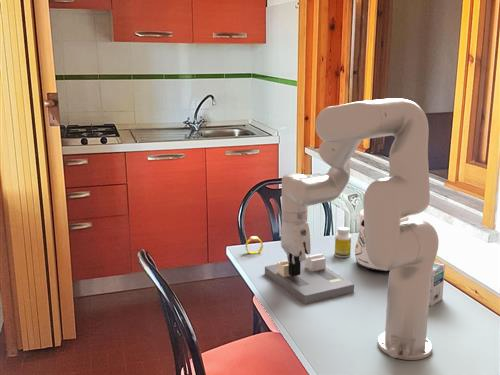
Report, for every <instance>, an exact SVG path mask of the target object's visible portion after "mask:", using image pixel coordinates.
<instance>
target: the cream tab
mask: <svg viewBox="0 0 500 375" xmlns="http://www.w3.org/2000/svg"><path fill="white" fill-rule="evenodd" d="M276 264H277V273H278V274H280V275H281V276H283V277H287V276H291V275H289V262H288V259H284V260H279V261H277V262H276Z"/></svg>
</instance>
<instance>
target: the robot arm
mask: <svg viewBox="0 0 500 375" xmlns="http://www.w3.org/2000/svg"><path fill="white" fill-rule="evenodd" d="M429 130H430V129H429V121H428V117H427V115H426V113H425V111H424V110H423V108H422V107H421V106H419V105H418V103H416V102H414V101H412V100H409V99H405V98H382V99H373V100H372V99H371V100H361V101H360V100H359V101H354V102H350V103H345V104H344V103H343V104H339V105H338V104H337V105H332V106H331V105H330V106H327V107H325V108H323V109H322V110H321V111H320V112H319V113H318V115H317V117H316V120H315V132H316V134H317V137H319V138H320V140H321V141H322V142H321V144H320V145H319V147H318V154H319V157H320V159H321V160H322V161H323V163H325V164H326V165H328V166H330V169H328V171H327V173H325V175H319V176H313V177H308V176H307V175H305V174H302V173H297V172H296V173H293V172H292V173H286V174H284V175H283V176H282V177H281V228H280V246H281V248H282V250H283V251H284V252H285V254H286V256H287V260H288V262H289V275H291V276H296V275H300V263H301V262H302V261H305V260H306V257H307V256H306V255H311V233H310V225H309V222H308V213H309V212H308V208H309V207H310V206H314V205H315V206H316V205H318V204H323V203H329V202H332V201H334V200H336V199H337V198H338V197H339V196H340V195H341V194H342V192H343V191H344V189H345V188H346V187H347V185H348V183H349V181H350V177H351V166H350V162H349V161H350V160H351V159H352V158H353V156H354V154H355V152H356V151H357V149H358V147H359V146H360V144H361V142H362V141H363V140H368V139H377V138H384V137H390V136H392V137H395V138H394V140H393V142H392V144H391V146H390V150H389V155H388V164H389V170H388V174H389V175H388V176H387V177H382V178H378V179H376V180H374V181H373V182H371V183H370V184H369V185H368V186H367V188H366V190H365V193H364V195H363V203H362V204H363V205H362V210H363V212H364V228H365V243H366V250H367V254H368V257H369V259H370V261H371V262H372V264H373V265H374V266H375V267H377V268H378V269H381V270H390V271H389V273H388V274H389V275H388V281H387V282H388V283H387V284H388V285H387V296H386V297H387V298H386V315H385V328H384V330H385V331H384V332H383V333H380V335H379V336H378V338H377V345H378V347H379V349H380V350H381V351H382V352H383V353H385V354H386V355H388V356H390V357H391V358H393V359H394V358H396V359H400V360H404V361H405V360H406V361H417V360H423V359H425V358H428V357H429V356H430V355H431V354H432V351H433V343H432V342H431V340H430V339H428V337H427V332H428V330H427V329H428V322H429V321H428V316H429V306H430V305H429V297H430V287H431V277H432V270H433V265H434V262H436V258H437V255H438V250H439V244H440V243H439V240H440V239H439V235H438V232H437V230H436V228H435V227H434V226H433V225H432V224H430V222H428V221H426V220H422V219H408V221H404V222H401V223H400V218H404V217H408V218H409V217H410V216H415V215H418V214H421V213H423V212H424V211H426V209H428V207H429V205H430V199H431V198H430V197H431V194H430V191H431V190H430V171H429V154H428V153H429V150H428V149H429V136H430V135H429V132H430V131H429Z"/></svg>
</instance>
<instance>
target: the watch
mask: <svg viewBox="0 0 500 375" xmlns="http://www.w3.org/2000/svg"><path fill="white" fill-rule="evenodd" d="M251 241H259V242H260V247H259V249H258V250H257V251H250V250H248V245H249V243H250V242H251ZM263 248H264V245H263V241H262V240H261V239H260V238H259V237H258V236H257V235H253V236H250V237H249V238H248V240H246V242H245V249H246V251H247V253H249V254H250V255H253V254H254V255H255V254H260V253H261V252H262V251H263Z"/></svg>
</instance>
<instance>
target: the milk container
mask: <svg viewBox="0 0 500 375" xmlns="http://www.w3.org/2000/svg"><path fill="white" fill-rule="evenodd" d="M408 220H409V216H408V217H404V218H400V223H401V222H404V221H408ZM357 236H358V237H357V241H356V243H355V247H354V257H355V259H356V262H357V263H358V264H359V265H360V266H362V267H363V268H366V269H367V270H372V271H378V272H390V270H381V269H378V268H377V267H375V266H374V265H373V264H372V262H371V261H370V259H369V257H368V254H367V250H366V243H365V228H364V212H363V209H361V210H360V211H359V219H358V235H357Z"/></svg>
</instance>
